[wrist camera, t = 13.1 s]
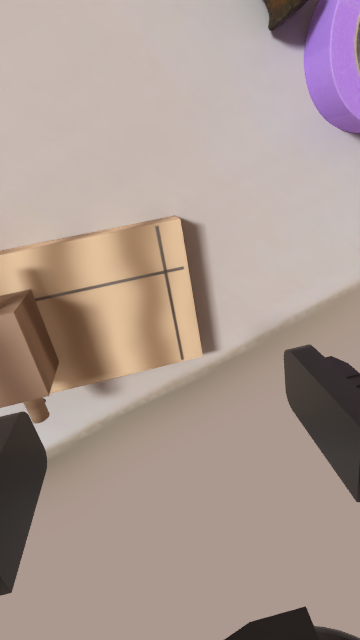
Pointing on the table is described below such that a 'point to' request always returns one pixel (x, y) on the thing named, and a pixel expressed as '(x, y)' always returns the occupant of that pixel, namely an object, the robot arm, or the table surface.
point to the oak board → (110, 299)
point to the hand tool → (282, 10)
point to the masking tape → (334, 62)
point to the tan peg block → (25, 355)
